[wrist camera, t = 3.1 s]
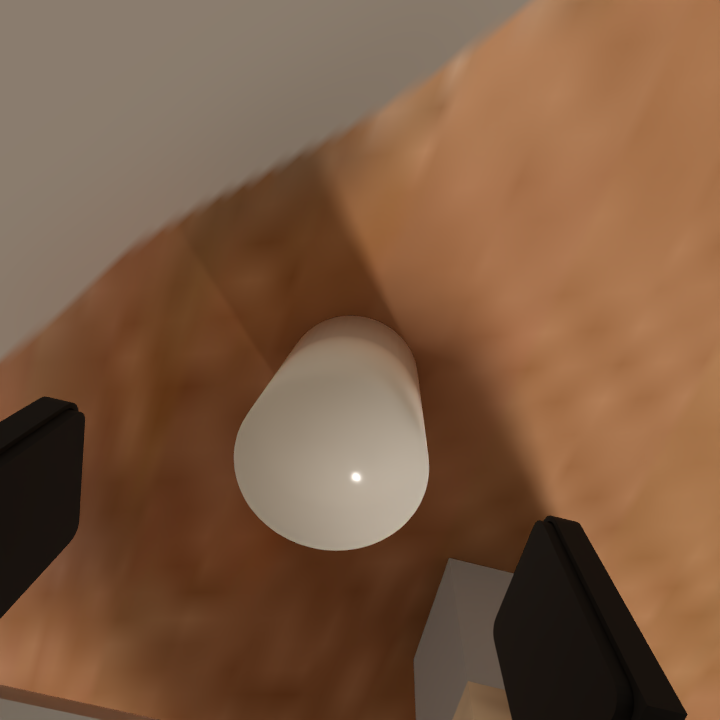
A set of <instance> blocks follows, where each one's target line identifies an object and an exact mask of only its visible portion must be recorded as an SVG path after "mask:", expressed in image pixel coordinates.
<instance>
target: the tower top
mask: <svg viewBox="0 0 720 720" xmlns="http://www.w3.org/2000/svg"><path fill="white" fill-rule="evenodd" d="M452 720H512V718H511V713H510V709H509V705H508V700H507V696H506V691H505V690H503V689H499V688H495V687H491V686H487V685H482V684H478V683H474V682H470V681H468V682H467V684H466V687H465V689H464V692H463V694H462V697H461V699H460V702H459V704H458V707H457V709H456V712H455V714H454V717H453V719H452Z"/></svg>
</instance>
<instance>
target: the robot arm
mask: <svg viewBox="0 0 720 720" xmlns="http://www.w3.org/2000/svg"><path fill="white" fill-rule="evenodd" d="M84 428H85V416H84V414H83V413H82V412H78V407H77V405H76V404H75V403H71V402H67V401H63V400H59V399H54V398H50V397H42V398H40V399H38V400H36V401H35V402H33V403H31V404H30V405H28V406H26V407H25V408H23V409H21V410H20V411H18V412H16V413H14V414H13V415H11V416H9V417H8V418H6V419H4V420H3V421H1V422H0V618H1V617H2V616H3V615H4V614H5V613H6V612H7V611H8V610H9V609H10V607H11V606H12V605H13V604H14V603H15V602H16V601H17V600H18V599H19V598H20V596H21V595H22V594H23V593H24V592H25V591H26V590H27V589H28V588H29V587H30V585H31V584H32V583H33V582H34V581H35V580H36V579H37V578H38V577H39V576H40V574H41V573H42V572H43V571H44V570H45V569H46V568H47V567H48V566H49V565H50V563H51V562H52V561H53V560H54V559H55V558H56V557H57V556H58V555H59V554H60V553H61V551H62V550H63V549H64V548H65V547H66V546H67V545H68V544H69V543H70V541H71V540H72V539H73V537H74V535H75V533H76V531H77V528H78V525H79V514H80V496H81V479H82V462H83V445H84ZM493 638H494V643H495V647H496V652H497V656H498V661H499V665H500V669H501V674H502V678H503V683H504V687H505V691H506V696H507V700H508V705H509V709H510V713H511V718H512V720H685V718H686V716H687V713H686V711H685V709H684V707H683V706H682V704H681V702H680V700H679V699H678V697H677V695H676V693H675V692H674V690H673V688H672V686H671V684H670V683H669V681H668V679H667V677H666V676H665V674H664V672H663V670H662V668H661V667H660V665H659V663H658V661H657V660H656V658H655V656H654V654H653V653H652V651H651V649H650V647H649V645H648V644H647V642H646V640H645V638H644V637H643V635H642V633H641V631H640V629H639V628H638V626H637V624H636V622H635V621H634V619H633V617H632V615H631V614H630V612H629V610H628V608H627V606H626V605H625V603H624V601H623V599H622V598H621V596H620V594H619V592H618V590H617V589H616V587H615V585H614V583H613V582H612V580H611V578H610V576H609V575H608V573H607V571H606V569H605V567H604V566H603V564H602V562H601V560H600V559H599V557H598V555H597V553H596V551H595V550H594V548H593V546H592V544H591V543H590V541H589V539H588V537H587V536H586V534H585V532H584V530H583V528H582V527H581V525H580V524H579V523H578V522H575V521H571V520H567V519H562V518H558V517H554V516H547V517H546V518H545V519H544V521H540V520H539V521H537V522H536V523H535V525H534V527H533V529H532V531H531V534H530V536H529V539H528V541H527V543H526V546H525V548H524V551H523V553H522V555H521V558H520V560H519V563H518V565H517V567H516V570H515V572H514V575H513V577H512V579H511V582H510V584H509V587H508V589H507V591H506V594H505V596H504V599H503V601H502V604H501V606H500V608H499V611H498V613H497V616H496V618H495V621H494V626H493ZM0 720H159V719H154V718H150V717H145V716H141V715H136V714H132V713H127V712H123V711H118V710H114V709H109V708H104V707H100V706H95V705H91V704H86V703H82V702H77V701H72V700H68V699H63V698H59V697H54V696H49V695H45V694H40V693H36V692H31V691H27V690H22V689H17V688H13V687H8V686H4V685H0Z"/></svg>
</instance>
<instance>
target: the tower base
mask: <svg viewBox="0 0 720 720" xmlns="http://www.w3.org/2000/svg"><path fill="white" fill-rule="evenodd" d="M513 575H514V573H510V572H506V571H501V570H497V569H493V568H489V567H485V566H481V565H477V564H473V563H468V562H464V561H460V560H456V559H452V558H449V560H448V562H447V565H446V568H445V571H444V574H443V577H442V580H441V582H440V585H439V588H438V591H437V594H436V597H435V600H434V602H433V605H432V608H431V611H430V614H429V617H428V620H427V623H426V625H425V628H424V631H423V634H422V637H421V640H420V643H419V645H418V648H417V651H416V654H415V657H414V684H415V710H416V720H452V719H453V717H454V714H455V712H456V709H457V707H458V704H459V702H460V699H461V697H462V694H463V692H464V689H465V687H466V684H467V682H468V681H470V682H474V683H478V684H482V685H487V686H491V687H495V688H499V689H503V690H505V687H504V683H503V678H502V674H501V669H500V665H499V661H498V656H497V652H496V647H495V643H494V638H493V626H494V621H495V618H496V616H497V613H498V611H499V608H500V606H501V604H502V601H503V599H504V596H505V594H506V591H507V589H508V587H509V584H510V582H511V579H512V577H513Z"/></svg>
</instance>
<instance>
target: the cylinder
mask: <svg viewBox="0 0 720 720" xmlns="http://www.w3.org/2000/svg"><path fill="white" fill-rule="evenodd" d="M234 469H235V474H236V479H237V482H238V485H239V488H240V490H241V492H242V494H243V496H244V499H245V500H246V502H247V503H248V505H249V506H250V508H251V509H252V511H253V512H254V513H255V514H256V515H257V516H258V518H259V519H260V520H261V521H263V522H264V523H265V524H266V525H267V526H268V527H269V528H271V529H272V530H274V531H275V532H276V533H278V534H280V535H281V536H283V537H285V538H287V539H288V540H291V541H293V542H295V543H298V544H301V545H304V546H307V547H311V548H316V549H321V550H332V551H339V550H352V549H358V548H362V547H366V546H369V545H372V544H375V543H377V542H379V541H382V540H383V539H385V538H387V537H389V536H391V535H392V534H393V533H395V532H396V531H398V530H399V529H400V528H401V527H402V526H403V525H404V524H405V523H406V522H408V521H409V519H410V518H411V517H412V515H413V514H414V513H415V512H416V510H417V508H418V507H419V505H420V503H421V501H422V499H423V496H424V494H425V491H426V487H427V483H428V477H429V457H428V449H427V442H426V434H425V426H424V418H423V410H422V403H421V395H420V387H419V379H418V372H417V367H416V362H415V360H414V357H413V354H412V352H411V351H410V349H409V347H408V345H407V344H406V343H405V341H404V340H403V339H402V338H401V337H400V336H399V335H398V334H397V333H396V332H395V331H394V330H392V329H391V328H390V327H388V326H386V325H385V324H383V323H381V322H379V321H377V320H374V319H371V318H367V317H362V316H350V315H349V316H339V317H335V318H331V319H328V320H325V321H323V322H321V323H319V324H317V325H315V326H314V327H313V328H311V329H310V330H309V331H308V332H306V333H305V334H304V335H303V336H302V338H301V339H300V340H299V341H298V343H297V344H296V345H295V347H294V348H293V350H292V351H291V352H290V354H289V355H288V357H287V358H286V360H285V361H284V362H283V364H282V365H281V367H280V368H279V370H278V371H277V372H276V374H275V375H274V377H273V378H272V380H271V381H270V382H269V384H268V385H267V387H266V388H265V389H264V391H263V392H262V394H261V395H260V397H259V398H258V399H257V401H256V402H255V404H254V405H253V407H252V408H251V409H250V411H249V412H248V414H247V415H246V417H245V419H244V420H243V422H242V424H241V427H240V429H239V431H238V434H237V438H236V442H235V448H234Z"/></svg>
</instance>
